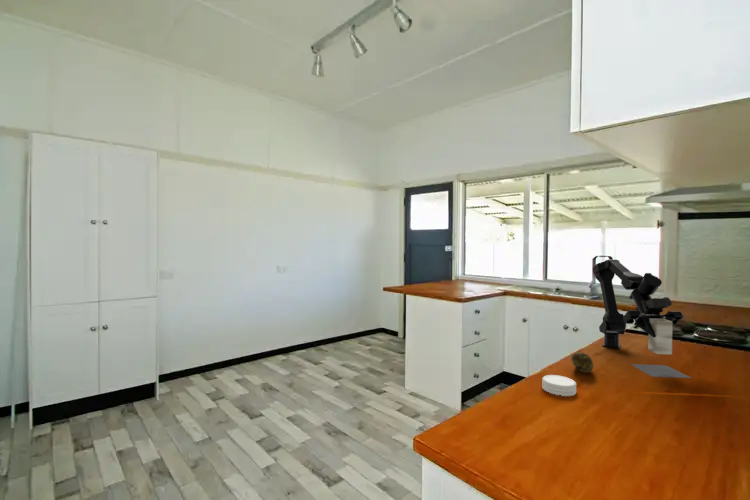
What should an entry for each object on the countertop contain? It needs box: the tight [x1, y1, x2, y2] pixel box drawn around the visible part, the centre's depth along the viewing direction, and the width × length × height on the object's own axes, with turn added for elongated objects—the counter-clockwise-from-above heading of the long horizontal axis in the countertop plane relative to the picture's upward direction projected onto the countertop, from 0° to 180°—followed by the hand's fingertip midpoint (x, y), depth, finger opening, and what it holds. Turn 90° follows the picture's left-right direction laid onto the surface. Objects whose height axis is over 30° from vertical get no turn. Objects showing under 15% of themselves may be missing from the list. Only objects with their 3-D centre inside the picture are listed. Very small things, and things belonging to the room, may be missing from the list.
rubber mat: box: [630, 363, 692, 379], centre depth 133 cm, size 13×13×1 cm
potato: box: [570, 351, 594, 374], centre depth 134 cm, size 8×13×8 cm, turn 133°
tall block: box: [647, 318, 673, 355], centre depth 133 cm, size 5×5×12 cm
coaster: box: [541, 374, 577, 397], centre depth 118 cm, size 10×10×4 cm
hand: (662, 337), depth 132 cm, fingers closed on tall block, 5 cm apart
